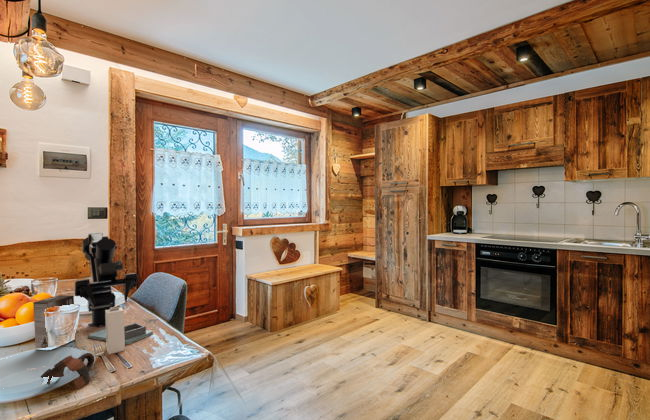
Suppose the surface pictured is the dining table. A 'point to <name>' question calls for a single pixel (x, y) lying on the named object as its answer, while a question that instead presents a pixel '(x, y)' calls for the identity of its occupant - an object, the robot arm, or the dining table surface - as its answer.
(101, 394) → the dining table surface
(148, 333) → the socket plate
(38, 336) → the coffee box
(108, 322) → the block
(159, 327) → the dining table surface
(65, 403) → the dining table surface
